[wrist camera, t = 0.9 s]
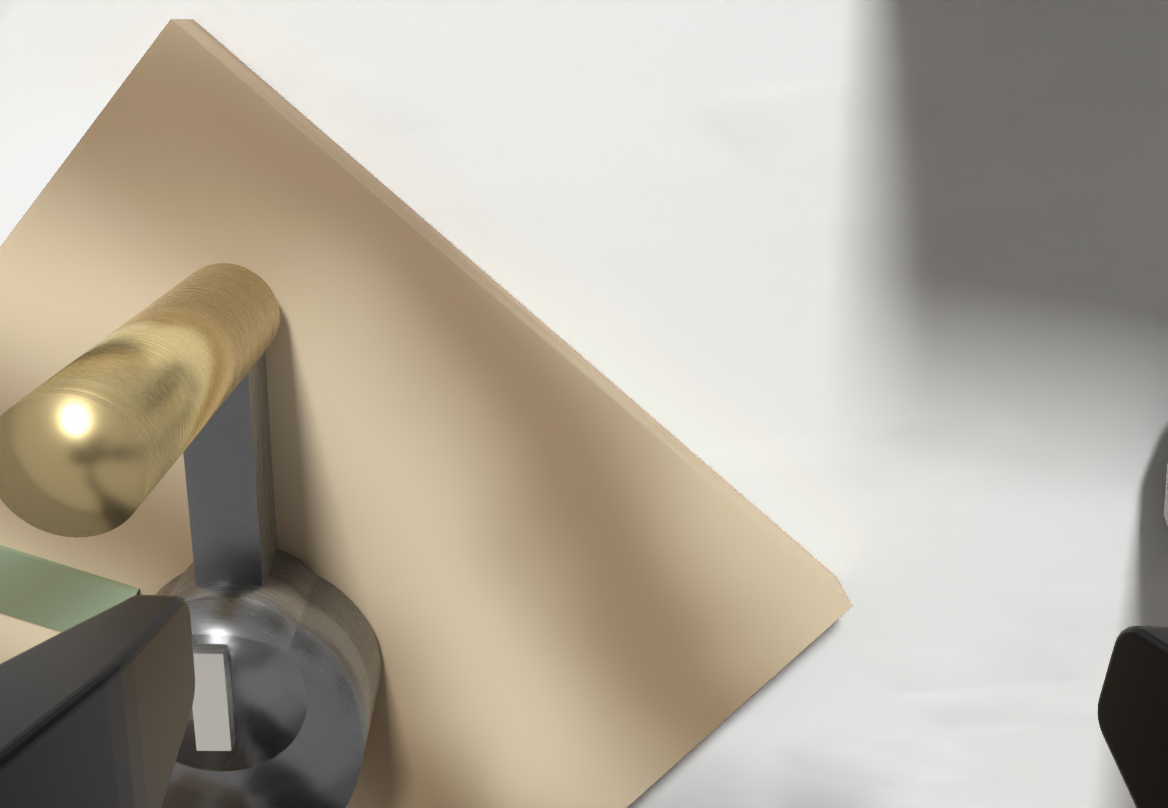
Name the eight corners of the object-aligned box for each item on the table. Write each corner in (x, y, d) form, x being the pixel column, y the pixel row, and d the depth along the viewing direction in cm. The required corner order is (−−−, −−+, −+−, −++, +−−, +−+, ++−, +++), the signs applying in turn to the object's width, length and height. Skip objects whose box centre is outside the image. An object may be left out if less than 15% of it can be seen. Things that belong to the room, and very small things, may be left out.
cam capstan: (383, 766, 22) (320, 1080, 15) (144, 764, 22) (-23, 1085, 15) (370, 265, 18) (282, 401, 12) (82, 255, 18) (-176, 388, 11)
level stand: (329, 1036, 27) (275, 1306, 21) (-303, 675, 22) (-586, 896, 16) (836, 577, 23) (937, 759, 17) (193, 19, 18) (41, 17, 12)
